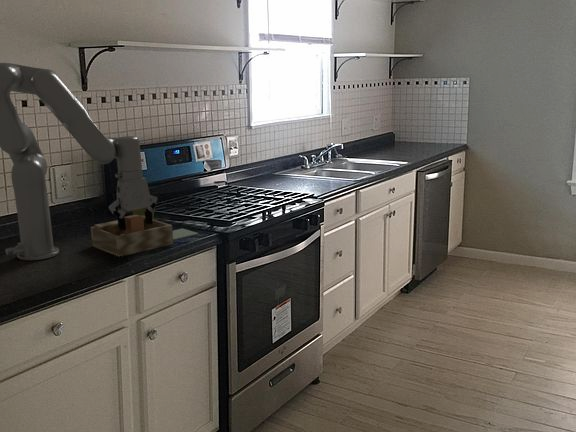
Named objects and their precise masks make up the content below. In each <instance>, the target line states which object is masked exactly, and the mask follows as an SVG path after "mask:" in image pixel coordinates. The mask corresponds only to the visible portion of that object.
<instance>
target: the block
mask: <svg viewBox="0 0 576 432" xmlns="http://www.w3.org/2000/svg"><path fill="white" fill-rule="evenodd" d="M123 218H125V224H126V230H125V234H129V233H134V232H138V231H143V230H144V220H143V216H139V215H133V214H132V215H128V216H123Z"/></svg>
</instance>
